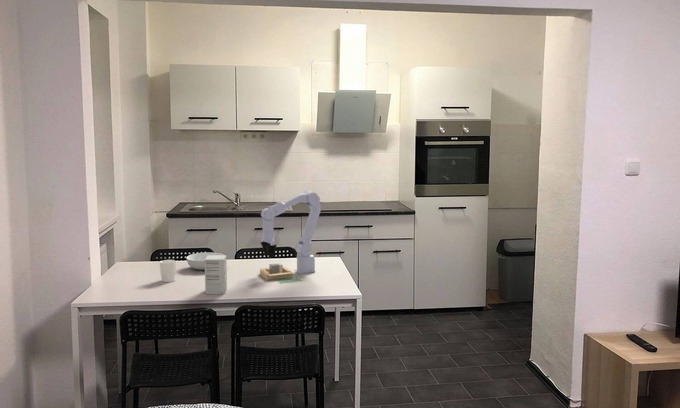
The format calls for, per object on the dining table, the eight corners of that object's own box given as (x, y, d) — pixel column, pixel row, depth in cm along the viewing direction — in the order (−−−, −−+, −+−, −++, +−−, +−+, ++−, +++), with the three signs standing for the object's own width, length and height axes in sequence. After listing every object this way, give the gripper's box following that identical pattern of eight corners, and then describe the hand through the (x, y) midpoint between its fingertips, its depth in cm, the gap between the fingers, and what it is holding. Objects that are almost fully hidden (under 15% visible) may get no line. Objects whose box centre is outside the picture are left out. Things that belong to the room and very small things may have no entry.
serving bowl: (178, 270, 309) (178, 258, 309) (201, 262, 329) (201, 251, 328) (210, 274, 302) (210, 261, 301) (232, 265, 321) (231, 254, 320)
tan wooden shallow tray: (283, 271, 308) (283, 265, 307) (294, 278, 292) (294, 272, 292) (258, 274, 302) (258, 268, 301) (268, 281, 286) (268, 275, 286)
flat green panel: (296, 277, 295) (296, 276, 295) (302, 281, 287) (302, 280, 287) (274, 279, 290) (274, 279, 290) (280, 284, 282) (280, 283, 282)
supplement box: (208, 289, 273) (207, 255, 271) (227, 288, 274) (226, 254, 272) (205, 294, 263) (204, 259, 261) (225, 294, 264) (224, 259, 262)
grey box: (280, 274, 300) (280, 263, 299) (282, 276, 296) (282, 264, 296) (269, 275, 297) (269, 264, 297) (271, 277, 294) (271, 265, 293)
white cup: (179, 279, 291) (178, 260, 290) (170, 283, 283) (169, 263, 282) (166, 278, 293) (165, 259, 292) (157, 281, 286) (156, 262, 285)
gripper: (256, 229, 302) (257, 254, 304) (264, 233, 289) (265, 259, 291) (269, 228, 305) (270, 253, 307) (278, 232, 292) (278, 258, 294)
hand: (268, 256), depth 299 cm, fingers open, 7 cm apart
